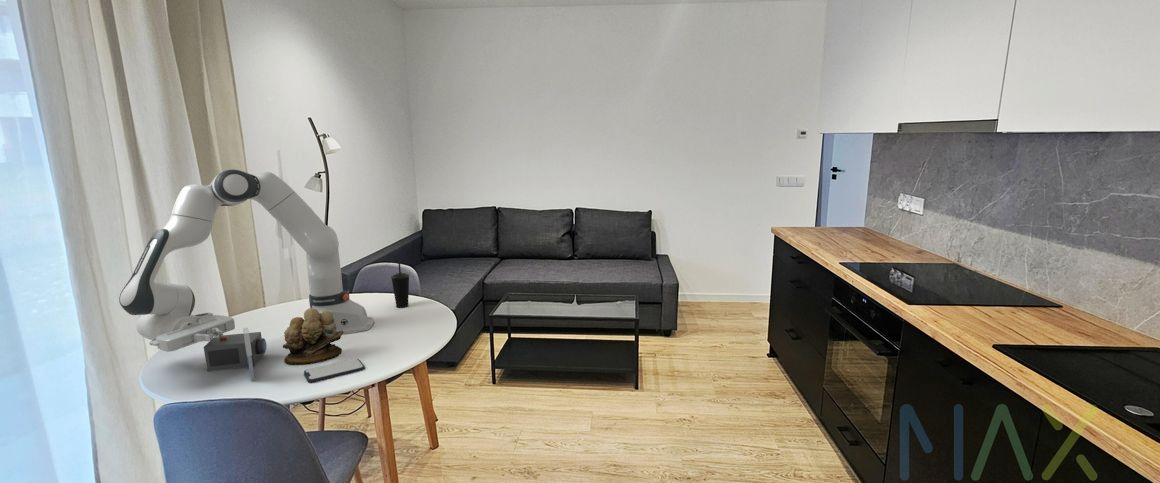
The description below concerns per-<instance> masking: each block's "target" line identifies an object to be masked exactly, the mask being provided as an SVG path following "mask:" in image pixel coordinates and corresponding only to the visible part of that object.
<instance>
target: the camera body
mask: <svg viewBox="0 0 1160 483" xmlns="http://www.w3.org/2000/svg"><path fill="white" fill-rule="evenodd" d="M249 336H250V344H251V351H252V356H251V357H252V364H253V367H256V366H257V364H258V363H259V362H260V360H261V359H262V357H263V356H264V355H265V354H266V351H267V340H266V339H265V338H264V337H263V336H262V332H261V331H255V332H249ZM262 337H263V338H262ZM213 338H214V340H211V341H207V343H206V344H205V345H204V346H203V352H204V358H205V359H204V360H205V365H206V366H205V367H206V371H207V372H212V371H221V370H230V369H240V368H248V364H247V356H246V349H245V339H244V332H243V333H236V334H235V333H233V334H223V336H222V337H219V338H215V337H213Z"/></svg>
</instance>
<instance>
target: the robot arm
mask: <svg viewBox="0 0 1160 483" xmlns="http://www.w3.org/2000/svg"><path fill="white" fill-rule="evenodd" d="M248 200H251V201H252V200H253V201H255V202H257V203H258V204H260V205H261V206H262V207H263V208H264V209H265V210H266V211H267V212H268V213H269V214H270V215H271V216H272V217H273V218H274V219H275V220H276V221H277V222H278V223H279V224H280V225H281V226H282V227H283V229H285V231H287V233H288V234H289V235H290V236H291V237H292V238H293V240H294V241H295V242H296V243H297V244H298V245H299V246H300V247H301V248H302V249H303V251H305V256H306V266H307V276H308V287H309V296H308V302H309V303H308V304H309V308H314V309H316V310H317V311H318V312H319V314H320V313H322V312H324V311H329V312H332V314H333V318H334V321H335V324H336V331H337V332H338V331H341V330H342V331H343V334H342V335H345V334H352V333H357V332H360V333H361V332H364V331H365V332H366V331H368V330H369V329H371V328H372V327H373V326H374V325H375V321H374V318H373V317H371V316H368V313H367V310H366V308H365V307H364V306H363V305H361V304H359V303H357V302H356V301H354V300H352V299H350V290H345V289H343V278H342V268H341V261H340V253H339V252H340V250H339V246H340V243H339V239H338V236H337V233H336V231H335V230H334V229H333V228H332V227H330V226H329V225H326V224H325V222H324V221H323V220H322V219H321V218H320V217H319V216H318V215H317V214H316V213H315V211H314V210H313V209H312V207H310V206H309V205H308V204H307V202H306V201H305V200H304V199H303V198H302V197H301V196H300V195H299V194H298V193H297V192H296V191H295V190H294V189H293V188H292V187H291V186H290V185H289V184H288V183H287V182H285V181H284V180H283V179H282V178H280V177H279V176H277V175H276V174H275V173H272V172H268V171H265V172H260V173H259V174H257V175H254V174H251V173H248V172H245V171H243V170H239V169H231V168H230V169H226V170H223V171H221V172H220V173H217V175H215V177H214V178H213V179H212V181H211V182H210V183H209V184H207V185H203V184H197V183H196V184H195V183H194V184H188V185H185V186H184V187H183V188H182V189H181V190H180V192H179V193H178V195H177V197H176V200H175V202H174V204H173V207H172V211H171V213H170V214H171V215H170V216H169V219H168V221H167V222H166V224H165V225H164V226H163V228H161V229H159V230H155V232H154V233H153V234H152V236H151V237H150V238H149V240H148V242H147V244H146V246H145V248H144V250H143V252H142V254H141V256H140V258H139V261H138V262H137V264H136V267H135V269H134V271H133V272H132V275H131V277H130V278H129V280H128V281H127V282H126V284H125V285H124V287H123V289H121V292H120V295H119V298H118V301H119V305H120V306H121V308H122V309H123V310H124V311H125V312H126V313H128V314H129V315H130V316H140V317H138V319H137V322H136V326H135V327H136V330H137V332H138V334H139V335H140V336H142V337H143V338H145V339H148V340H150V342H149V345H150V346H153V347H154V346H155V347H156V346H157V349H159V350H160V351H163V352H167V353H168V352H175V351H177V350H180V349H182V348H185V347H188V346H192V345H195V344H197V343H201V342H210V341H211V340H214V337H215V338H219V337H222V336H223V335H224V334H225V333H227V332H230V331H233V330H235V328H236V323H235V318H234V317H231V316H226V315H220V314H216V315H214V314H213V313H212V312H205V313H199V314H192V313H193V311H194V308H195V306H196V304H195V303H196V296H195V294H194V291H193V290H192V289H191V287H189V286H188V285H185V284H184V285H183V284H176V283H175V284H173V283H163V282H155V278H156V276H157V275H158V272H159V270H160V268H161V266H162V264H163V262H164V260H165V258H166V257H167V256H168V255H169V253H172V252H173V251H176V250H180V249H185V248H190V247H194V246H197V245H198V246H199V244H200V245H201V244H202V243H204V242H205V241H206V240H207V239H208V238H209V237H210V234H211V232H212V228H213V224H214V221H215V215H216V214H217V210H218V209H219V207H230V206H231V207H232V206H237V205H240V204H243V203H245V202H246V201H248Z"/></svg>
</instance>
